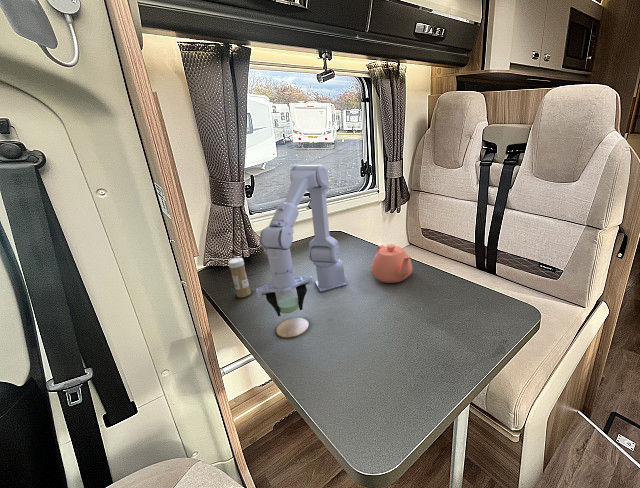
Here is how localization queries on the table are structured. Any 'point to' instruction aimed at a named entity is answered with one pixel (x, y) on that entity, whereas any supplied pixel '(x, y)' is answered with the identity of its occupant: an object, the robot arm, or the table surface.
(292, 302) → the lid
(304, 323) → the coaster
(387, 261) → the teapot
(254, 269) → the table surface
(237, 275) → the sprinkles bottle
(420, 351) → the table surface
